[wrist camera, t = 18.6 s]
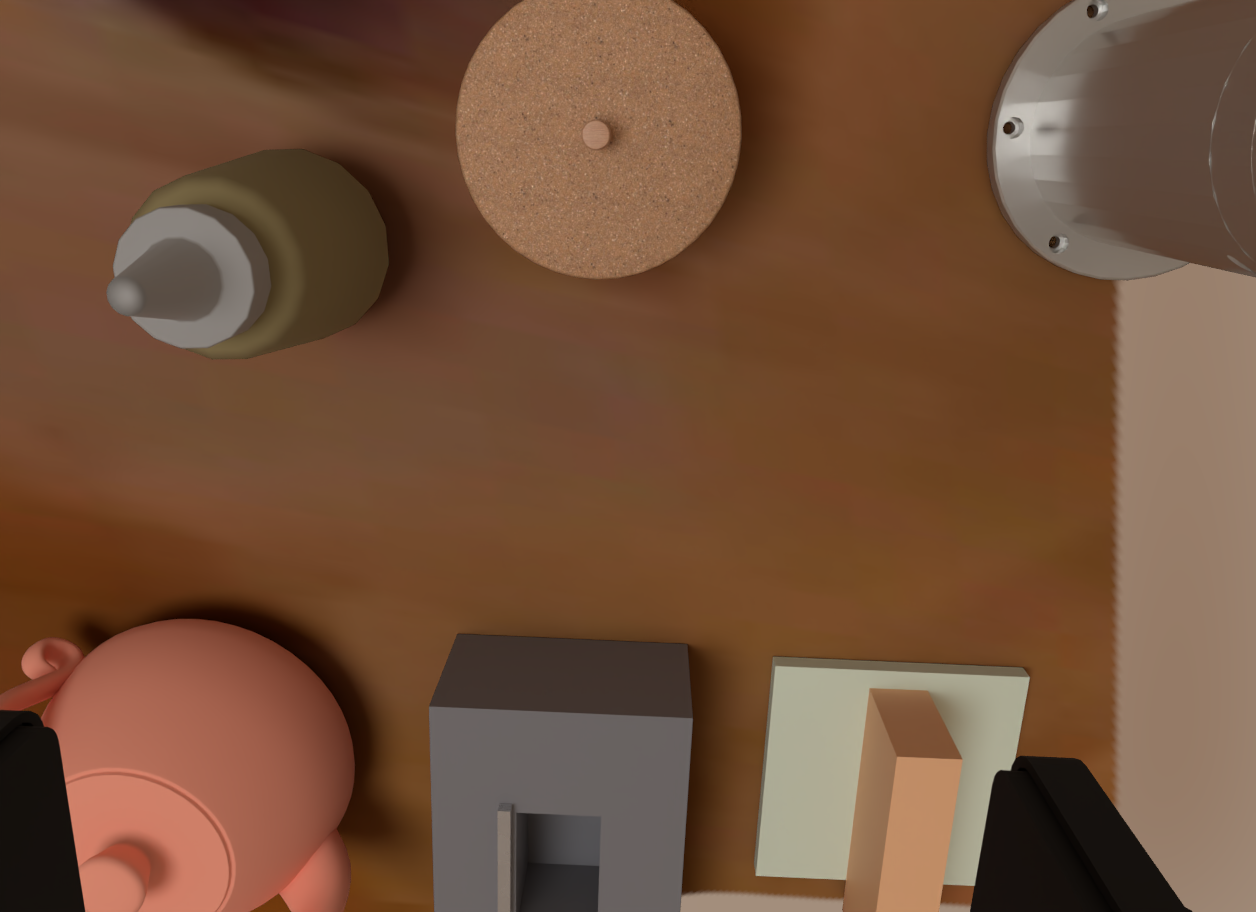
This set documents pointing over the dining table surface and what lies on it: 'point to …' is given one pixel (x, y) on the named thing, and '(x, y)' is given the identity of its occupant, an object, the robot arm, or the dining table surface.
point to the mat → (832, 746)
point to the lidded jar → (598, 133)
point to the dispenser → (560, 775)
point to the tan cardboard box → (902, 805)
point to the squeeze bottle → (252, 256)
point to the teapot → (197, 769)
